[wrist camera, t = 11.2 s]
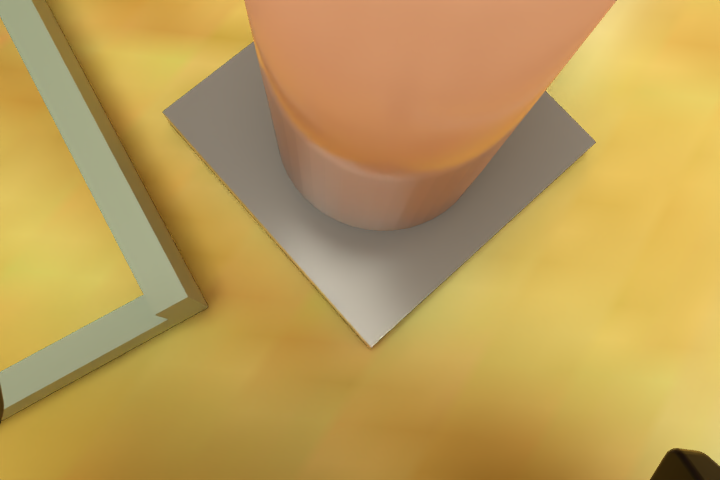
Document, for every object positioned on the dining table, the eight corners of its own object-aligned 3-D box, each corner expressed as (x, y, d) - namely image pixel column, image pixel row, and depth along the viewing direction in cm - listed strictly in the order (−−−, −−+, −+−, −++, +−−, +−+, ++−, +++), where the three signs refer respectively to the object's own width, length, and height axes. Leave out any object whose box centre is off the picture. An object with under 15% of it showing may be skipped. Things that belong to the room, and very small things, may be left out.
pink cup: (499, 220, 20) (763, -4, 8) (284, 240, 20) (215, 32, 7) (469, 25, 21) (658, -425, 9) (268, 40, 21) (185, -417, 9)
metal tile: (583, 152, 22) (595, 142, 21) (369, 348, 20) (371, 347, 19) (388, -47, 23) (391, -66, 22) (170, 123, 21) (162, 112, 20)
